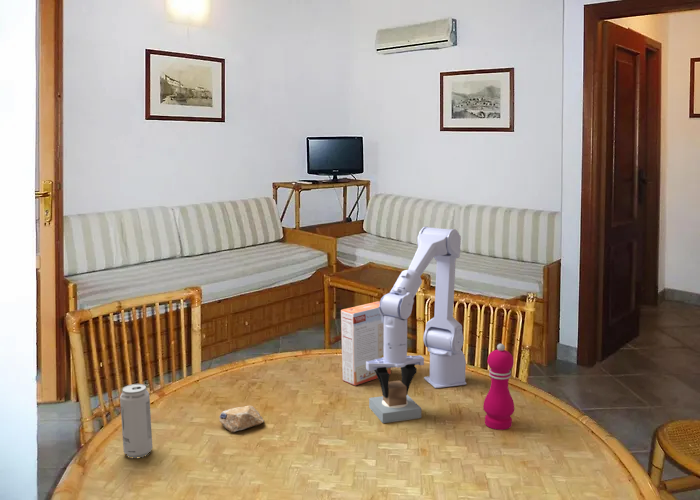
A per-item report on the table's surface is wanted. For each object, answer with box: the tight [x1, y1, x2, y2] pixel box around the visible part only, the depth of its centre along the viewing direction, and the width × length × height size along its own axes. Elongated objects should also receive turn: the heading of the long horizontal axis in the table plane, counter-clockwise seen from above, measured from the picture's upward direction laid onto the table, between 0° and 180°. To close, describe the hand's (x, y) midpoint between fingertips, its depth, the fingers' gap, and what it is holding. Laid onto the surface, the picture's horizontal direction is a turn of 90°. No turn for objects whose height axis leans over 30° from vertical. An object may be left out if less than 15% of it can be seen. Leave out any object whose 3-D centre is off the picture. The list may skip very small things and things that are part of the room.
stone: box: [218, 404, 265, 433], centre depth 161 cm, size 8×10×4 cm
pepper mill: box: [482, 343, 515, 431], centre depth 159 cm, size 7×7×20 cm
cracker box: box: [340, 301, 392, 387], centre depth 190 cm, size 14×6×21 cm, turn 130°
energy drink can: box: [119, 383, 153, 459], centre depth 146 cm, size 6×6×15 cm
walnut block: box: [382, 379, 408, 406], centre depth 167 cm, size 4×4×4 cm
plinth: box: [368, 394, 422, 424], centre depth 168 cm, size 10×10×3 cm
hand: (394, 395), depth 167 cm, fingers closed on walnut block, 4 cm apart
